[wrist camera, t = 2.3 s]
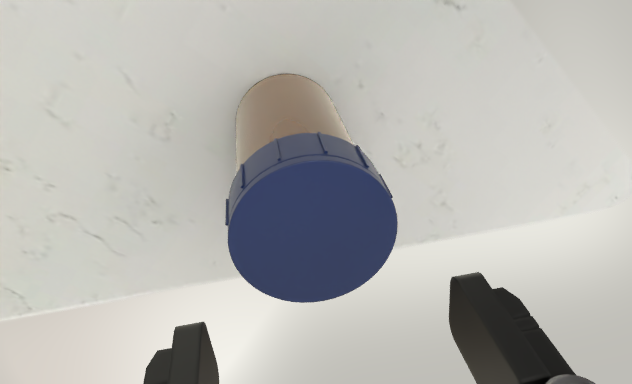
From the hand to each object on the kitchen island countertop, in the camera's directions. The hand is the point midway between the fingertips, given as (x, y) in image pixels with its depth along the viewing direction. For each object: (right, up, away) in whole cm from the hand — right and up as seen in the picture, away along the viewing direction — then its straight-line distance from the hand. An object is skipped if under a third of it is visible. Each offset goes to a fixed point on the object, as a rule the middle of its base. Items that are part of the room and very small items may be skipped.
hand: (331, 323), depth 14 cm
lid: (-1, +2, +4) cm, 4 cm away
